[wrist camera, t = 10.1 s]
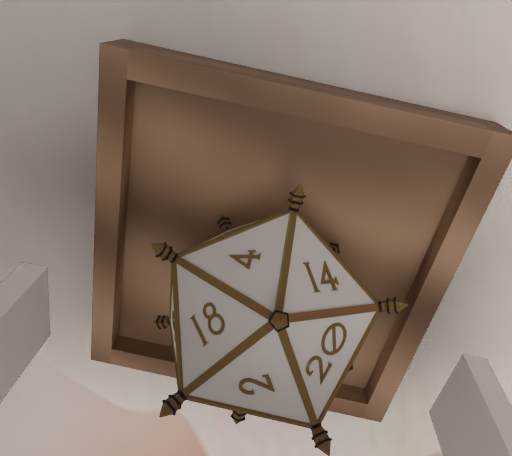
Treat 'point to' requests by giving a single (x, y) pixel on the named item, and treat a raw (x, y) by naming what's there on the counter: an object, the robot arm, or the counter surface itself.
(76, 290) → the counter surface
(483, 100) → the counter surface
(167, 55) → the walnut tray
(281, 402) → the game die
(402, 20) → the counter surface
